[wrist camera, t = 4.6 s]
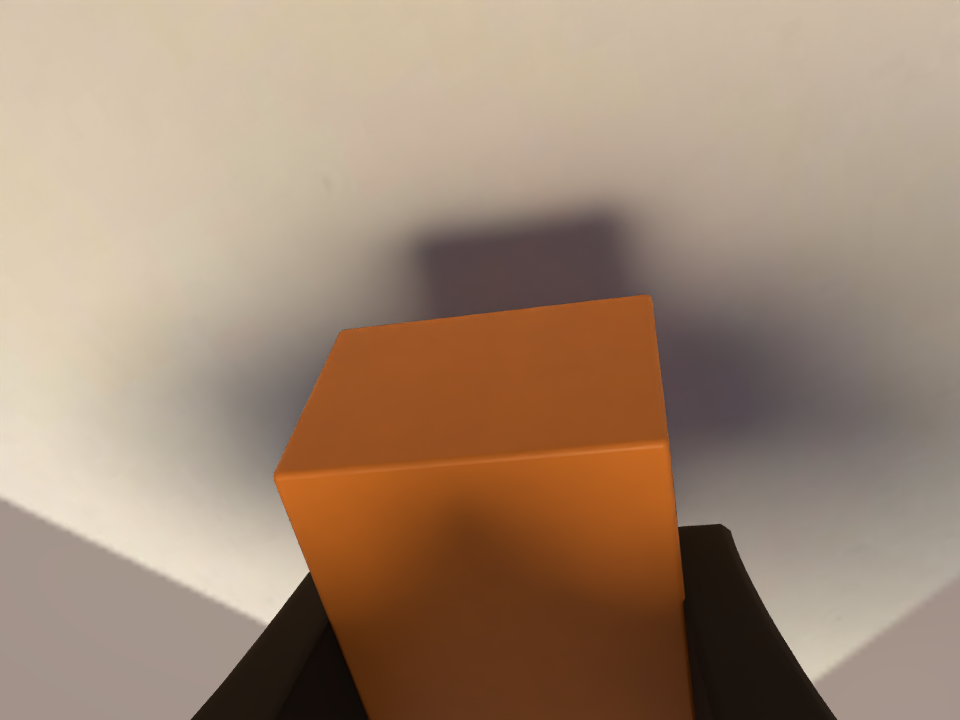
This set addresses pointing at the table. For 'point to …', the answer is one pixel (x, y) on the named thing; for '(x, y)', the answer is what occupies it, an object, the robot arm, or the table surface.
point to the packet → (497, 516)
